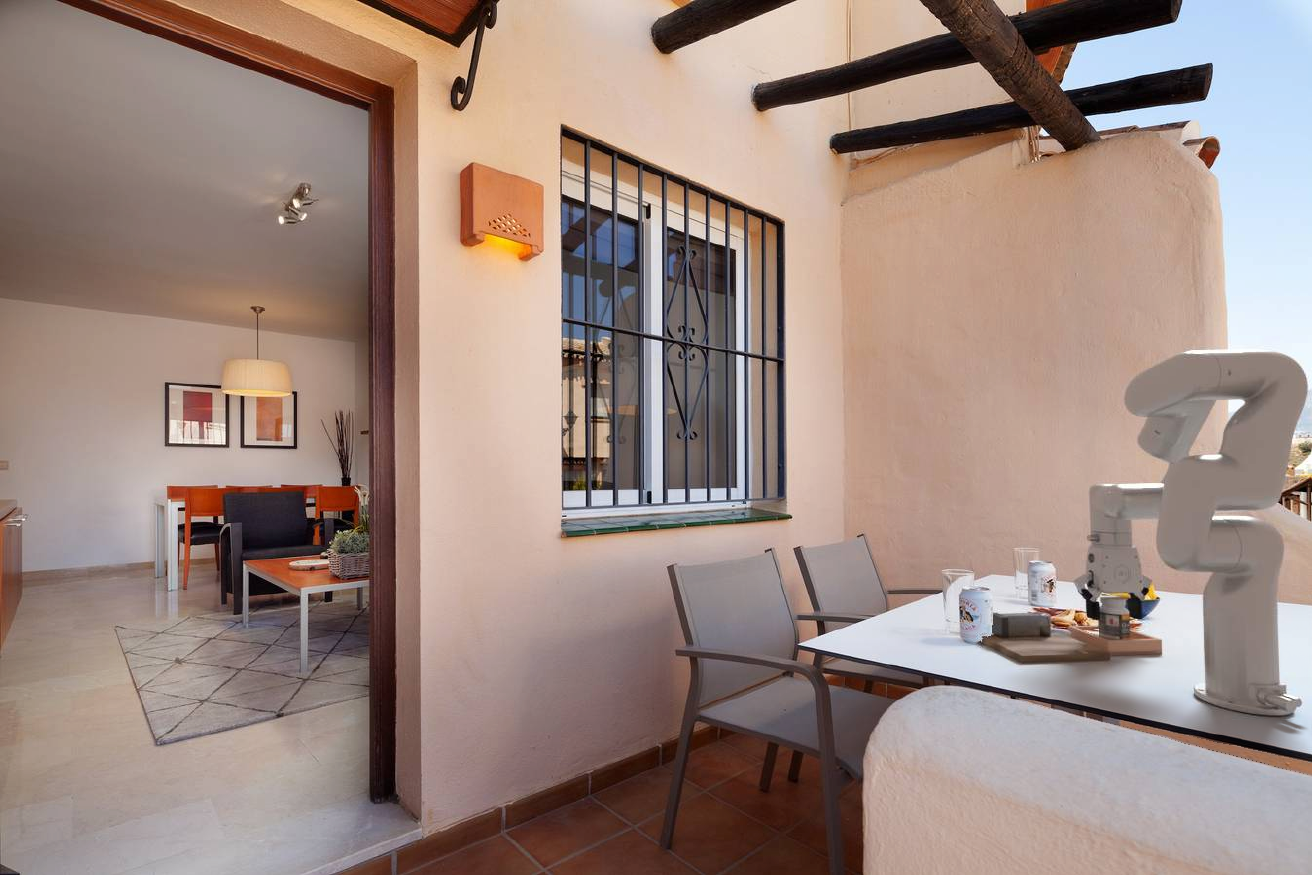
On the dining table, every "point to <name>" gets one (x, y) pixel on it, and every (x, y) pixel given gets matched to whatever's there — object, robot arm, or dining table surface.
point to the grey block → (1021, 624)
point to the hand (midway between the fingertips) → (1114, 618)
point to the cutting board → (1045, 648)
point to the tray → (1118, 642)
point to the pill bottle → (1114, 618)
